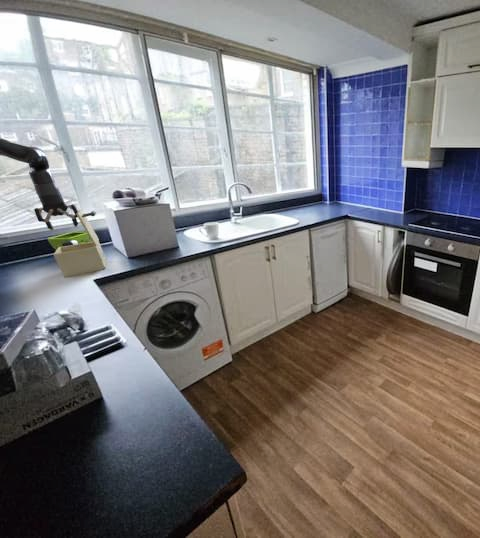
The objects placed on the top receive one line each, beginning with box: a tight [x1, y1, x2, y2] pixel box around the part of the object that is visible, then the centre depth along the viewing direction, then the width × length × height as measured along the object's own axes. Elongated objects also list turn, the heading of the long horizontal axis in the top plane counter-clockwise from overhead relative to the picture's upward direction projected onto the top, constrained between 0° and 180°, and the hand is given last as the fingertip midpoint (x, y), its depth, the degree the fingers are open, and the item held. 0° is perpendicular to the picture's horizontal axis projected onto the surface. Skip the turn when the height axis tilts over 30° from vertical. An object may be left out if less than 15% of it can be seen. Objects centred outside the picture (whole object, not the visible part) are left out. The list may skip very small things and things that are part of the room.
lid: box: [76, 209, 100, 246], centre depth 147 cm, size 16×14×6 cm
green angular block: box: [47, 231, 92, 251], centre depth 167 cm, size 14×14×13 cm
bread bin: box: [53, 241, 108, 278], centre depth 148 cm, size 16×14×12 cm
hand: (64, 227), depth 140 cm, fingers open, 8 cm apart
